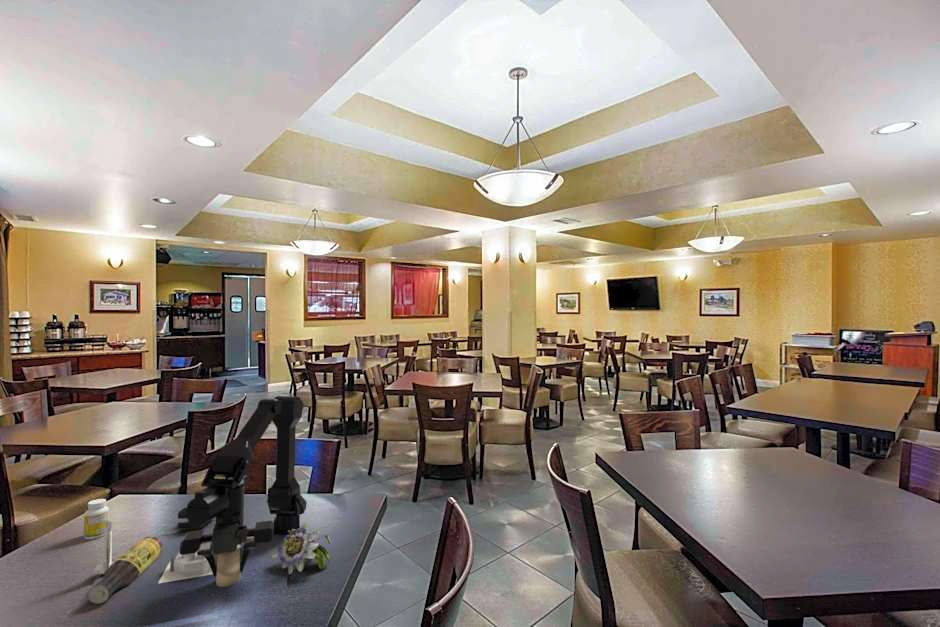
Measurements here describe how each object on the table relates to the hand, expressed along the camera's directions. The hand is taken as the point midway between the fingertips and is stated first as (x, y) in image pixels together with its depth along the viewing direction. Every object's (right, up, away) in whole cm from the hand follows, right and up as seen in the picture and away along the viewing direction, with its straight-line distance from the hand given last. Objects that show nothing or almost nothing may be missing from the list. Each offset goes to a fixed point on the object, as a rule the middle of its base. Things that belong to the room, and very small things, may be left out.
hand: (228, 573), depth 103 cm
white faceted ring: (-11, -2, +6) cm, 13 cm away
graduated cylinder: (-31, -3, +3) cm, 31 cm away
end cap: (-25, -3, +29) cm, 38 cm away
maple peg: (0, -3, 0) cm, 2 cm away
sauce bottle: (-26, +1, +11) cm, 28 cm away
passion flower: (+14, -3, +8) cm, 17 cm away
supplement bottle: (-50, -3, +23) cm, 55 cm away
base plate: (-11, -3, +6) cm, 13 cm away
